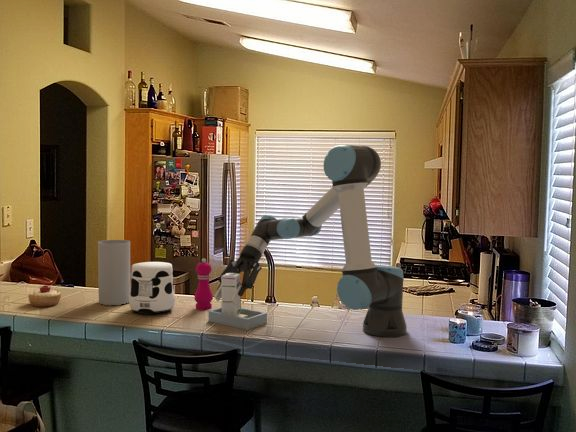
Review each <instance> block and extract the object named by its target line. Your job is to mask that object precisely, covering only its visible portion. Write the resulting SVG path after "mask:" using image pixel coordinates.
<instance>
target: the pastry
mask: <svg viewBox="0 0 576 432" xmlns="http://www.w3.org/2000/svg"><path fill="white" fill-rule="evenodd" d="M27 297H28V301H29V304H30V305H31V306H32V307H36V308H47V307H46V306H49V307H53V306H52V305H54V306H57V305H58V304H59V303H60V301H61V297H62V293H61V292H60V290H58V289H52V287H51V286H50V285H48V284H44V283H42V284H41V286H39V287H38V290H33V291H31V292H29V294H28V296H27ZM56 304H57V305H56Z"/></svg>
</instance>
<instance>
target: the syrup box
mask: <svg viewBox="0 0 576 432" xmlns="http://www.w3.org/2000/svg"><path fill="white" fill-rule="evenodd" d="M241 275H242V274H241V273H226V274H225V275H223V276H221V296H222V297H221V307H222V313H224V314H229V315H234V316H237V315H238V314H239V313H240V312H241V308H242V296H241V297H240V298H239V300H238V302H237V304H236V305H234V304H233V302H232V301H231V299H232V297H233V296H234V294H235V292H236V290H237V288H238V287H239V285H241V283H242V276H241ZM241 286H242V285H241Z"/></svg>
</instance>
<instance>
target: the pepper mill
mask: <svg viewBox="0 0 576 432" xmlns="http://www.w3.org/2000/svg"><path fill="white" fill-rule="evenodd" d="M195 270H196V273H197V279H198V286H197V289H196V290H195V293H194V301H195V302H196V303H195V309H196V311H197V310H198V311H209V310H212V301H213V299H214V296H213V292H212V290H211V287H210V279H211V274H210V273H211V272H212V266H211V264H210V263H209V262H207V259H206V258H202V259H201V262H199V263H198V264H197V265H196V268H195Z"/></svg>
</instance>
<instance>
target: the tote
mask: <svg viewBox="0 0 576 432" xmlns="http://www.w3.org/2000/svg"><path fill="white" fill-rule="evenodd" d="M239 314H243V315H248V318H243V317H239V316H234V315H229V314H224V313H222V306H221V307H217V308H213V309H209V310H208V322H211V323H214V324H218V325H222V326H223V325H224V326H227V327H228V326H229V327H232V328H238V329H242V330H246V331H249V330H252V329H255V328H257V327H260V326H263V325H265V324H268V312H265V311H261V310H260V311H259V310H255V309H249V308H244V307H241V312H240V313H239Z"/></svg>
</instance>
